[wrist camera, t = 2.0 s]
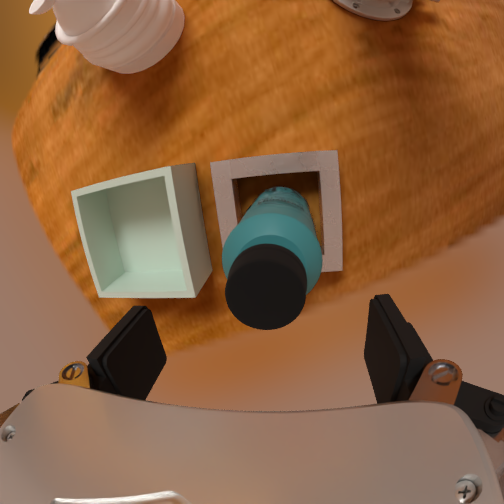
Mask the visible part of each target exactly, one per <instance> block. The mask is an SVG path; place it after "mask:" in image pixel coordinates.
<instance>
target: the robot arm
mask: <svg viewBox="0 0 504 504" xmlns="http://www.w3.org/2000/svg"><path fill="white" fill-rule="evenodd" d="M333 1H334V2H335V3H337V4H338V5H340V6H341V7H343V8H344V9H346V10H348V11H350V12H352V13H355V14H357V15H359V16H362V17H366V18H369V19H374V20H382V21H389V20H396V19H399V18H401V17H403V16H404V15H406V14H407V13H408V12H409V10H410V9H411V7H412V3H413V0H333ZM430 1H434V2H439V1H440V0H430ZM87 359H88V361H89V365H88V366H87V365H86V363H84V362H82V361H75V362H71V363H69V364H67V365H65V366H64V367H63V368H62V369H61V371H60V372H59V380H58V381H57V382H54V383H51V384H47V385H43V386H39V387H37V388H36V389H33V390H29V391H28V392H26V394H25V396H24V397H23V399H22V402H21V403H18V404H17V405H15V406H13V407H11V408H10V409H8V410H6V411H4V412H3V413H1V414H0V504H504V395H502V394H499V393H496V392H493V391H490V390H487V389H484V388H481V387H478V386H475V385H472V384H470V383H467V382H464V381H462V375H463V374H462V371H461V369H460V368H459V366H458V365H457V364H455V363H454V362H452V361H449V360H445V359H438V360H434V361H433V359H432V358H431V356H430V354H429V353H428V351H427V349H426V347H425V346H424V344H423V343H422V341H421V339H420V337H419V336H418V334H417V332H416V331H415V329H414V328H413V326H412V325H411V323H409V322H408V323H407V322H406V320H405V319H404V317H403V316H402V314H401V312H400V311H399V309H398V308H397V306H396V304H395V303H394V302H393V300H392V298H391V297H390V295H389V294H382V295H375V297H374V299H371V300H370V304H369V315H368V325H367V334H366V341H365V349H364V359H365V362H366V365H367V369H368V372H369V375H370V379H371V382H372V386H373V389H374V393H375V397H376V400H377V404H371V405H362V406H354V407H345V408H335V409H322V410H306V411H233V410H217V409H205V408H195V407H186V406H178V405H171V404H164V403H157V402H152V401H146V400H145V399H146V398H147V396H148V394H149V392H150V390H151V389H152V387H153V385H154V383H155V381H156V380H157V378H158V376H159V374H160V372H161V371H162V369H163V367H164V365H165V364H166V359H167V358H166V354H165V351H164V348H163V345H162V342H161V340H160V337H159V334H158V331H157V328H156V325H155V322H154V319H153V315H152V312H151V310H150V309H148V308H147V307H146V306H133V307H132V308H131V309H130V310H129V311H128V312H127V313H126V314H125V316H124V317H123V318H122V319H121V320H120V321H119V322H118V323H117V324H116V325H115V326H114V327H113V328H112V330H111V331H110V332H109V333H108V334H107V335H106V336H105V337H104V339H102V340H101V342H100V343H99V344H98V345H97V346H96V347H95V348H94V349H93V351H92V352H91V353H90V354H89V355H88V356H87Z"/></svg>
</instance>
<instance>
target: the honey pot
mask: <svg viewBox="0 0 504 504" xmlns="http://www.w3.org/2000/svg"><path fill="white" fill-rule="evenodd" d="M52 6H53V10H54V14H55V16H56V19H57V22H56V36H57V39H58V40H59V41H60V42H61V43H62V44H64V45H70V46H71V45H73V46H74V47H75V48H76V49H77V50H79V51H80V52H81V53H82V54H83V56H84V58H85V59H87V60H88V61H89V62H90V63H92V64H94V65H97V66H100V67H103V68H106V69H109V70H112V71H115V72H118V73H121V74H132V73H136V72H140V71H143V70H145V69H147V68H149V67H151V66H153V65H154V64H156V63H157V62H158V61H160V60H161V59H162V58H164V57H165V56H166V55H167V54H168V53H169V52H170V51H171V49H172V48H173V47H174V46H175V44H176V43H177V41H178V40H179V38H180V36H181V33H182V31H183V28H184V19H185V16H184V13H183V9H182V8H181V7H180V5H179V4H178V3H177V2H176V1H175V0H34V1H33V3H32V4H31V6H30V9H29V13H30V14H42V13H45V12H47V11H48V10H50V9H51V8H52Z"/></svg>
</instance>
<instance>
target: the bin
mask: <svg viewBox="0 0 504 504" xmlns="http://www.w3.org/2000/svg"><path fill="white" fill-rule="evenodd" d="M71 194H72V199H73V204H74V209H75V214H76V218H77V223H78V227H79V231H80V235H81V239H82V243H83V247H84V250H85V254H86V258H87V261H88V264H89V268H90V271H91V274H92V277H93V280H94V283H95V286H96V289H97V292H98V295H99V297H107V298H196V296H197V295H198V293H199V291H200V290H201V288H202V287H203V285H204V283H205V282H206V280H207V279H208V277H209V276H210V274H211V272H212V265H211V260H210V255H209V249H208V243H207V237H206V232H205V226H204V220H203V214H202V207H201V201H200V195H199V188H198V181H197V175H196V168H195V163H189V164H182V165H175V166H168V167H164V168H159V169H154V170H149V171H145V172H141V173H136V174H132V175H128V176H124V177H120V178H116V179H112V180H108V181H105V182H101V183H97V184H94V185H90V186H87V187H84V188H80V189H77V190H74V191H71Z"/></svg>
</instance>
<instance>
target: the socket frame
mask: <svg viewBox="0 0 504 504" xmlns="http://www.w3.org/2000/svg"><path fill="white" fill-rule="evenodd" d="M210 166H211V173H212V180H213V187H214V194H215V201H216V207H217V214H218V221H219V227H220V234H221V240H222V246H223V247H224V244H225V242H226V239H227V237H228V236H229V234H230V233H231V231H232V230H233V229H234V228H235V227H236V226H237V225H238V224H239V222H240V221H241V219H242V214H241V206H240V198H239V191H238V183H237V178H243V177H251V176H261V175H271V174H282V173H294V172H307V171H317V180H318V192H319V207H320V223H321V244H322V246H320V247H321V252H322V259H323V262H322V270H321V272H330V271H342V213H341V193H340V178H339V165H338V154H337V150H332V151H312V152H298V153H285V154H275V155H265V156H256V157H247V158H239V159H232V160H225V161H218V162H211V163H210ZM238 220H239V221H238ZM237 223H238V224H237Z"/></svg>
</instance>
